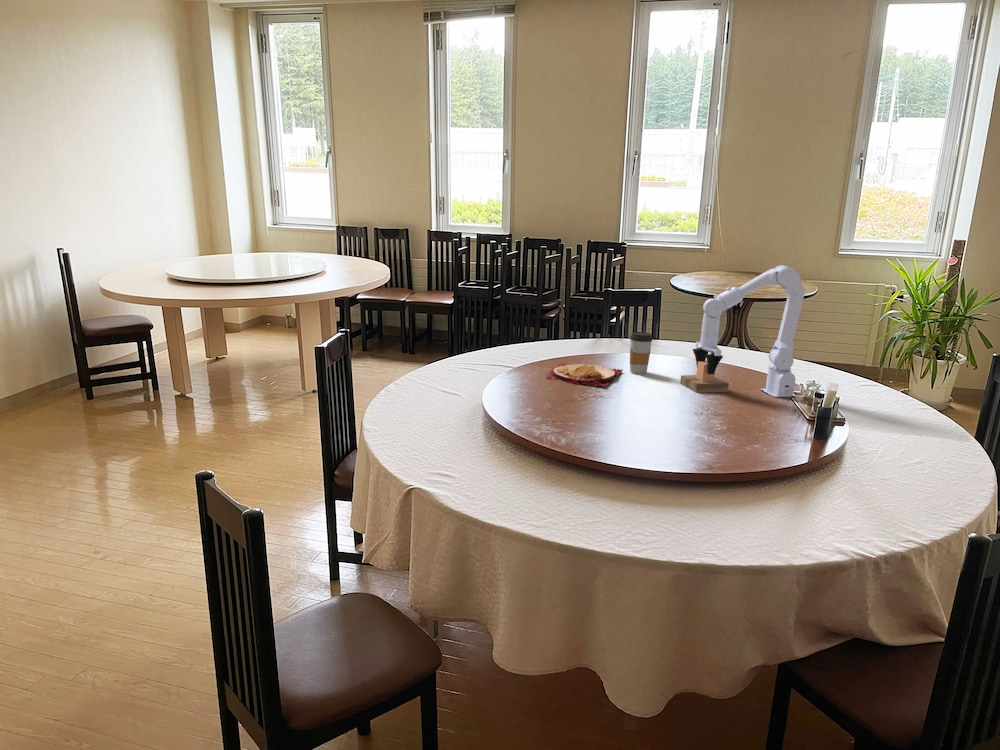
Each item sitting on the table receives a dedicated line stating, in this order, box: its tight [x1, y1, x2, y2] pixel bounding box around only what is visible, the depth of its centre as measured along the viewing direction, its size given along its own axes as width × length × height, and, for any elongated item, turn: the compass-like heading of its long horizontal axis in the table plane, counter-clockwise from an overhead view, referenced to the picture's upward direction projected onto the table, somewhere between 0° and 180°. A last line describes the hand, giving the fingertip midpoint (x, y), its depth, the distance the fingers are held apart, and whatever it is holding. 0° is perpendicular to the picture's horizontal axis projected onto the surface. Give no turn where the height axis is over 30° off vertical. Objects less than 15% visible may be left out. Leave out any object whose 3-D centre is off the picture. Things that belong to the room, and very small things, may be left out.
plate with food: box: [545, 363, 623, 388], centre depth 260 cm, size 25×26×4 cm
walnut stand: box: [680, 374, 730, 393], centre depth 251 cm, size 12×12×3 cm
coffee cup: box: [629, 331, 653, 375], centre depth 267 cm, size 8×8×15 cm
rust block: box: [696, 360, 716, 381], centre depth 250 cm, size 4×4×6 cm
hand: (705, 371), depth 249 cm, fingers open, 7 cm apart
